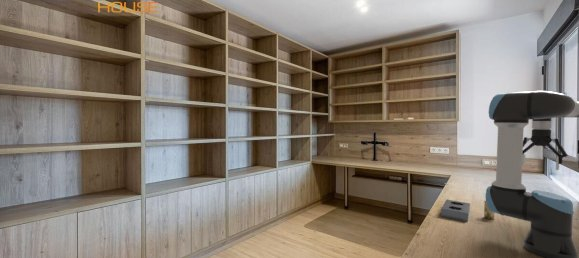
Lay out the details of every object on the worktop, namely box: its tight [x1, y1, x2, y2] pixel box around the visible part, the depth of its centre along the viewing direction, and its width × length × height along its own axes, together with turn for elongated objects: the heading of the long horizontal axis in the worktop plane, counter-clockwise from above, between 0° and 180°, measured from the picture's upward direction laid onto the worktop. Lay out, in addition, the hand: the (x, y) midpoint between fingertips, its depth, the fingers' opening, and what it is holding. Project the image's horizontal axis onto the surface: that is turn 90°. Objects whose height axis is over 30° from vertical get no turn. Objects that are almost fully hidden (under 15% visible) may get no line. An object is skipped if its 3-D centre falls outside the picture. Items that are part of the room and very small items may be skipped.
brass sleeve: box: [483, 200, 495, 221], centre depth 141 cm, size 4×4×9 cm
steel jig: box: [440, 199, 471, 223], centre depth 147 cm, size 22×12×4 cm, turn 143°
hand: (539, 167), depth 142 cm, fingers open, 13 cm apart
